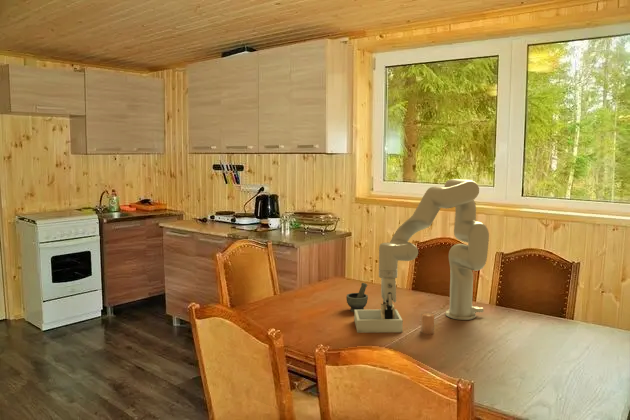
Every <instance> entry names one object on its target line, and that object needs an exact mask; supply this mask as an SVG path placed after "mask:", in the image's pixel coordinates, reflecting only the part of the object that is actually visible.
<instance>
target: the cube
mask: <svg viewBox="0 0 630 420" xmlns="http://www.w3.org/2000/svg"><path fill="white" fill-rule="evenodd" d="M392 306H393V319H395V305H394V303H392ZM380 309H381V318H382V319H385V304H383V303H380Z"/></svg>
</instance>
